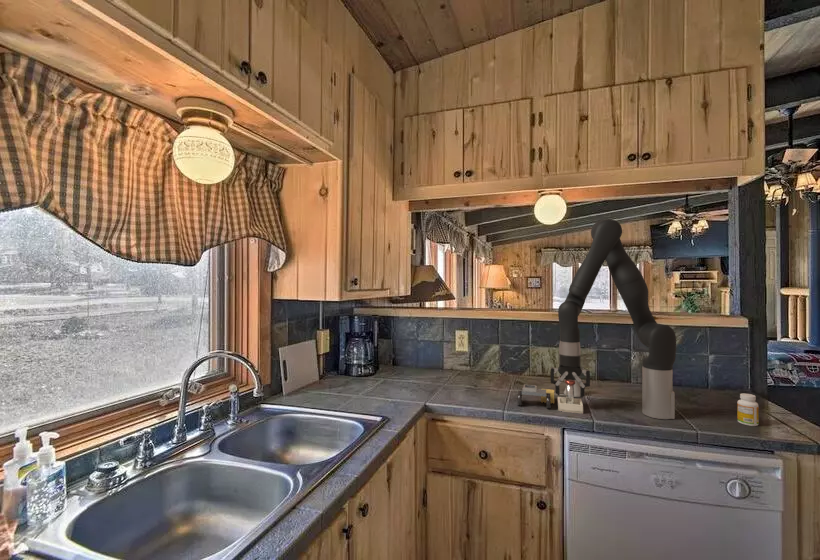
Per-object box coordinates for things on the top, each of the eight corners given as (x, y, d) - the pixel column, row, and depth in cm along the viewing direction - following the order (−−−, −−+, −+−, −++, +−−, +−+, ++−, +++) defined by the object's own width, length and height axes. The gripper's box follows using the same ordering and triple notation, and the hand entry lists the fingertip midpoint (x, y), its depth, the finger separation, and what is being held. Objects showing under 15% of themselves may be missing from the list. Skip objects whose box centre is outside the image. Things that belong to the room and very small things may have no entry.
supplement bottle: (748, 420, 132) (748, 392, 132) (763, 426, 127) (763, 397, 127) (733, 420, 132) (733, 392, 132) (747, 426, 127) (747, 397, 127)
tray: (580, 406, 147) (580, 398, 147) (583, 413, 139) (583, 405, 139) (557, 404, 150) (557, 396, 150) (558, 411, 142) (558, 403, 142)
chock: (554, 400, 155) (554, 389, 155) (554, 403, 151) (554, 392, 151) (541, 399, 156) (541, 388, 156) (540, 402, 152) (540, 391, 152)
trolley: (550, 403, 150) (550, 385, 150) (550, 410, 143) (550, 391, 143) (518, 400, 154) (518, 382, 154) (517, 407, 147) (517, 388, 147)
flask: (571, 398, 157) (571, 374, 157) (560, 393, 164) (560, 370, 164) (586, 397, 159) (586, 373, 159) (574, 392, 166) (574, 369, 166)
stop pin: (574, 405, 146) (574, 379, 146) (575, 408, 142) (575, 382, 142) (564, 404, 147) (564, 379, 147) (565, 407, 143) (565, 381, 143)
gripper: (549, 353, 143) (550, 397, 143) (591, 356, 138) (591, 400, 139) (549, 350, 150) (549, 391, 150) (589, 352, 146) (589, 394, 146)
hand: (569, 395), depth 144 cm, fingers open, 7 cm apart
